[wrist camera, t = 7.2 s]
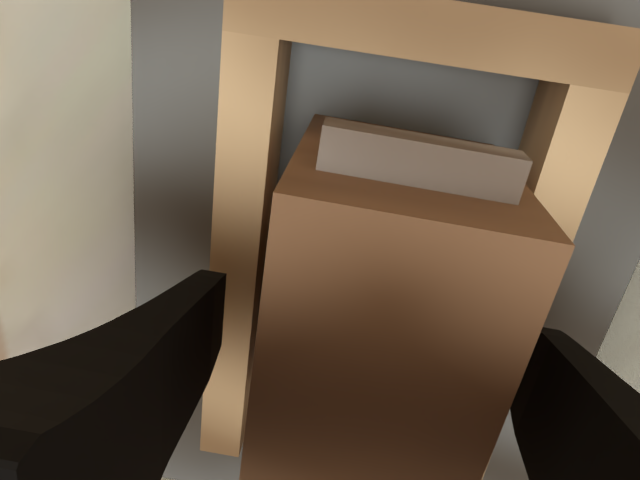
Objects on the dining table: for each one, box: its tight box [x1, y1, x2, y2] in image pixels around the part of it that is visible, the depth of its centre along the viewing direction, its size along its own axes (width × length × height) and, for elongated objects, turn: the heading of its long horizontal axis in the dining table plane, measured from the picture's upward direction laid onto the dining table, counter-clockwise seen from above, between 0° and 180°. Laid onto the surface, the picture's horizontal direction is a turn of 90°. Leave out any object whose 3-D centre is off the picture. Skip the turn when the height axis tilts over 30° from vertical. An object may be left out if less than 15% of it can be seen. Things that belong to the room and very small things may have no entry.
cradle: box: [131, 0, 640, 480], centre depth 15 cm, size 20×14×3 cm
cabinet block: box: [239, 114, 575, 480], centre depth 12 cm, size 9×5×6 cm, turn 172°
